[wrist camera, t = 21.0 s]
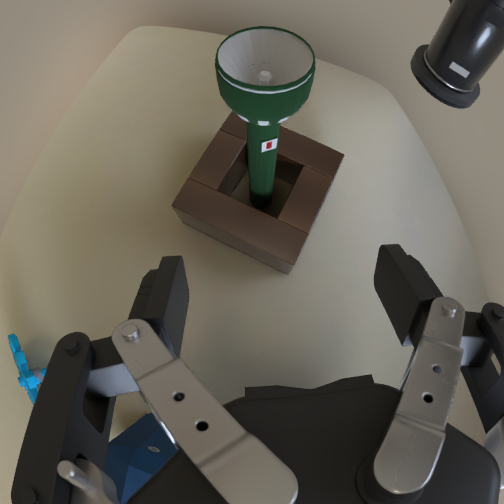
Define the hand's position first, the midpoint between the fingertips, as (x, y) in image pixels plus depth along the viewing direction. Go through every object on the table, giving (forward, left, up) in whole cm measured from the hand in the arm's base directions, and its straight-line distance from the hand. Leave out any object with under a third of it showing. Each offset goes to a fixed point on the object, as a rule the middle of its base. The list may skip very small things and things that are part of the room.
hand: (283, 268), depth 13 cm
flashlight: (-9, -5, -19) cm, 21 cm away
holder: (-9, -5, -19) cm, 21 cm away
